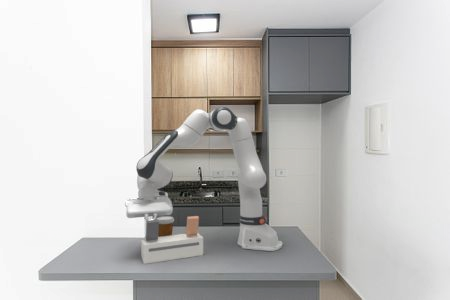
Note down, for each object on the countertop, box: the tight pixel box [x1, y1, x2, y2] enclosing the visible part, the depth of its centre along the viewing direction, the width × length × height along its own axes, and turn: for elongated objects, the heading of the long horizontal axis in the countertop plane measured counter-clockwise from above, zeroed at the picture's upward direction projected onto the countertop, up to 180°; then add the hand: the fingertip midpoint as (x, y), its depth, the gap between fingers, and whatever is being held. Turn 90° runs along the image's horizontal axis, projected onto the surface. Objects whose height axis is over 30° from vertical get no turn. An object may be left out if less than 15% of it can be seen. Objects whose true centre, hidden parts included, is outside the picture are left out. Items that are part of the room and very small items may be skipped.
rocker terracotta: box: [185, 215, 200, 236], centre depth 136 cm, size 2×5×9 cm, turn 112°
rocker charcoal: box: [145, 219, 159, 241], centre depth 129 cm, size 2×5×9 cm, turn 113°
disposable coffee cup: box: [155, 215, 175, 237], centre depth 156 cm, size 10×10×12 cm
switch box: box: [140, 232, 204, 265], centre depth 134 cm, size 9×26×8 cm, turn 113°
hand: (151, 223), depth 130 cm, fingers closed, pressing on rocker charcoal
